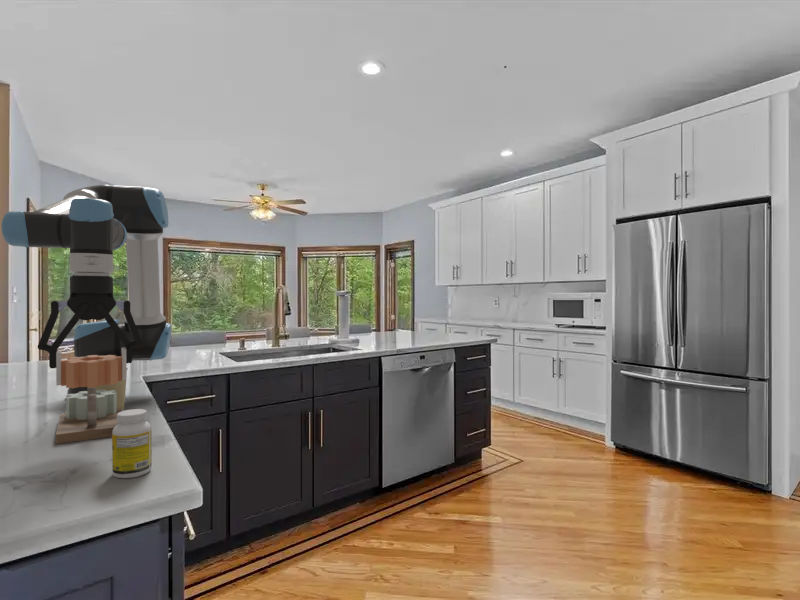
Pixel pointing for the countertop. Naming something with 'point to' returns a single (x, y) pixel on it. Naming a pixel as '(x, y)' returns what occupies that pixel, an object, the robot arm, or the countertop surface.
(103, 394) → the gear
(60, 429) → the gear board
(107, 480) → the countertop surface
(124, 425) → the pill bottle
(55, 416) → the countertop surface
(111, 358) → the rust gear
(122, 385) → the coffee cup
